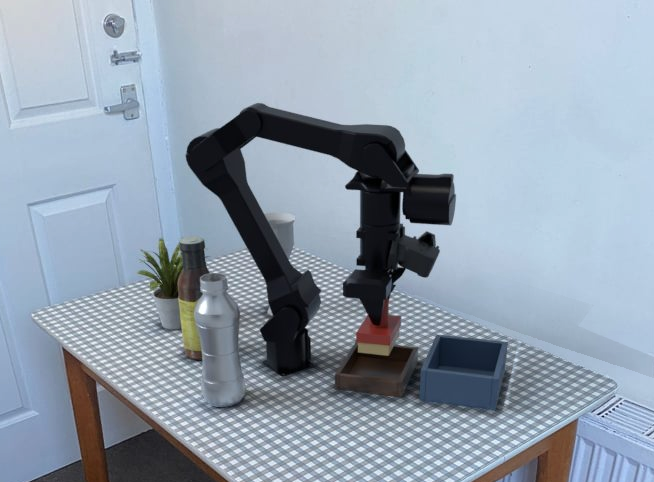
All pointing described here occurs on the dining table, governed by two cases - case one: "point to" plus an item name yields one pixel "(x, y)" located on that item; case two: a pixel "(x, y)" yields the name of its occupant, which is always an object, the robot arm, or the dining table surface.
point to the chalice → (282, 232)
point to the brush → (379, 333)
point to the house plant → (166, 285)
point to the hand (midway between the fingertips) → (378, 320)
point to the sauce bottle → (191, 292)
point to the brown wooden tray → (377, 371)
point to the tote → (463, 372)
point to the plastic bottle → (219, 342)
